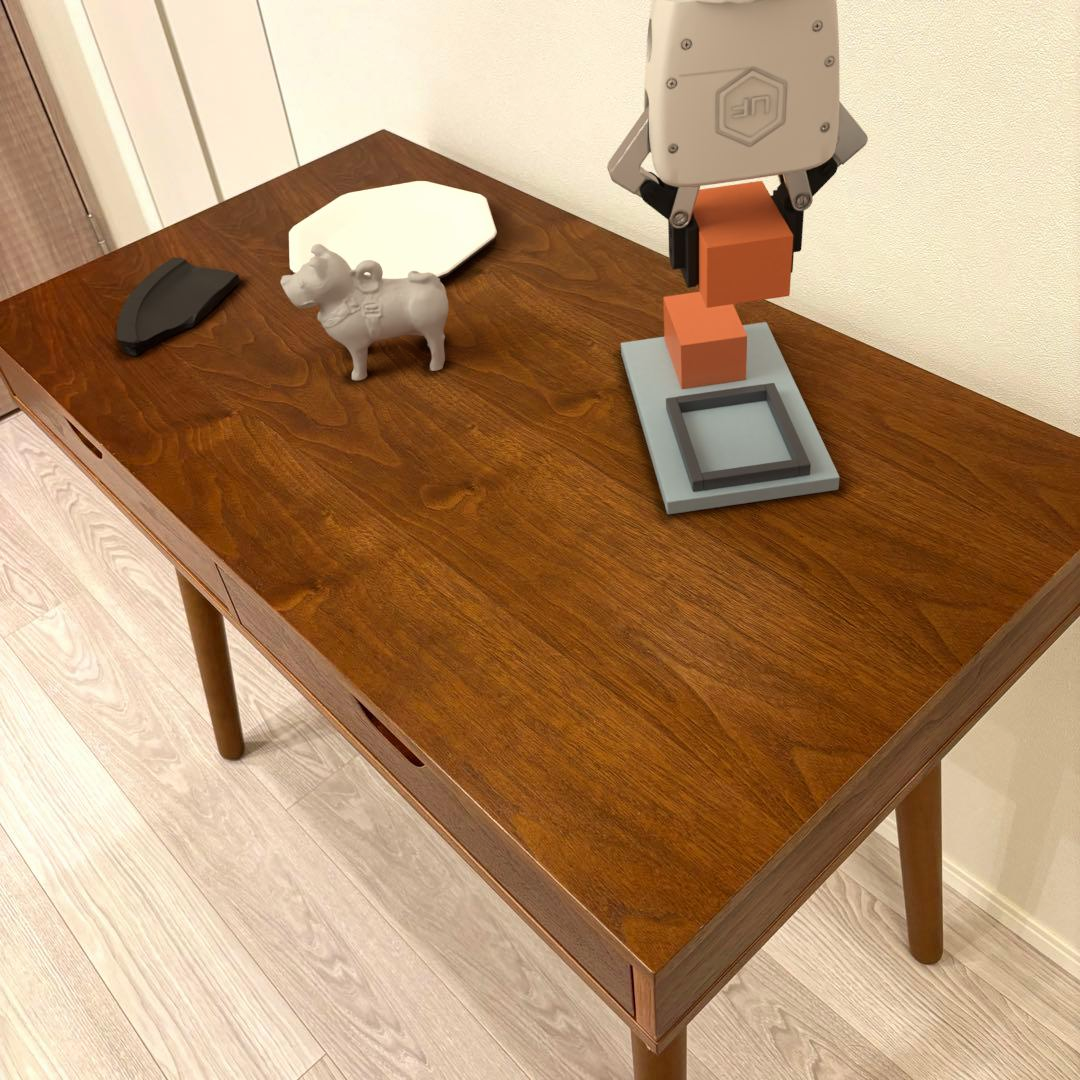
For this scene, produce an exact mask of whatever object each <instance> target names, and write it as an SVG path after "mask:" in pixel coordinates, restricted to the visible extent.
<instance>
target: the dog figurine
mask: <svg viewBox="0 0 1080 1080" xmlns="http://www.w3.org/2000/svg"><path fill="white" fill-rule="evenodd" d="M311 253H313V254H314V255H315V256H314V257H312V258H310V261H309V262H308V263H306V264H304V265H302V267H301V269H300V270H299V271H298V272H297V273H295V274H294V273H293V274H286V275H282V276H281V279H280V285H281V288H282V289H283V291H284V293H285V295H286V296H287V298H288V299H289V300H290V302H291V303H292V304H293V305H294V306H295V307H296V308H298V309H300V310H307V309H310V308H313V307H315V306H318V307H319V311H318V312H317V322H319V323H320V324H321V326H322V327H323V329H324V330H325V332H326V333H327V334H328V335H329V337H331V338H332V339H334V340H335V341H336V342H338V343H340V344H341V345H342V346H344V347H345V348H346V349H347V350H348V351H349V353H350V356H351V358H352V362H353V363H352V364H353V369H352V372H351V380H352V381H362V380H365V379H366V378H367V377H368V372H367V371H368V370H367V367H368V365H367V364H368V355H369V354H368V349H369V347H370V346H371V345H372V344H373V343H376V342H378V341H384V340H389V339H394V338H400V337H405V336H421V337H424V338H425V340H426V342H427V343H426V345H427V347H428V348H429V351H430V355H431V360H430V362H429V370H430V371H432V372H436V371H440V370H442V369H443V368H444V365H445V361H446V354H445V338H446V335H445V331H444V329H445V326H446V323H447V320H448V319H447V318H448V314H449V300H448V297H447V296H448V295H447V290H446V288H445V285H444V284H443V283H442V281H441V278H440V279H439V278H438V277H437V276H436V275H435V274H433V273H430V272H427V273H419V272H418V271H410V272H409V273H408V277H407V278H399V279H387V278H382V275H383V271H382V267H381V266H380V264H379V263H377V262H376V261H373V260H364V261H362V262H360V263H359V264H358V265H357V266H356V269H354V270H352V269H351V268H350V266H349V265H348V263H347V262H346V261H345V260H344V259H343V258H342V257H341V256H339V255H338V254H336V253H334V252H332V251H330V250H328V249H327V248H325V247H324V246H322V245H321V244H316V245H314V246H312V249H311ZM366 272H368V273H370V274H371V275H369V274H366V275H365V274H364V273H366Z"/></svg>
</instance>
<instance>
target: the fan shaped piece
mask: <svg viewBox="0 0 1080 1080" xmlns="http://www.w3.org/2000/svg"><path fill="white" fill-rule="evenodd" d="M240 281H241V279H240V277H239V274H238V273H237V272H235V271H234V272H233V271H230V270H224V269H220V268H211V267H202V266H195V265H193V264H191V262H189V261H188V260H187V259H186V258H184V257H171V258H170V259H168V260H167V261H165V262H163V264H162V263H161V265H159V266H158V267H156V268H155V269H154V270H153V271H152V272H150V273H149V274H148V275H146V276H145V278H143V280H141V281H140V282H139V283H138V284H137V286H135V288H133V290H132V291H131V292H130V294H129V296H128V297H127V298H126V300H125V301H124V303H123V305H122V308H121V310H120V313H119V315H118V319H117V321H116V322H117V323H116V340H117V341H118V343H119V344H120V346H121V349H122V352H123V353H125V354H126V355H129V356H132V357H138V356H139V355H141V354H142V353H144V352H145V351H147V350H149V349H151V348H152V347H154V346H156V344H159V343H160V342H162V341H164V340H166V339H168V338H170V337H173V336H175V335H177V334H179V333H181V332H184V331H186V330H189V329H191V328H193V327H195V326H196V325H197V324H198V323H200V322H201V321H202V320H203V319H204V318H205V317H206V316H207V315H208V314H209V313H210V312H211V311H212V310H214V309H215V307H216V306H217V305H218V304H219V303H221V302H222V300H223V299H224V298H225V297H226V296H227V295H228V294H229V293H230V292H231V291H232V290H233V289H234V288H235V287H236V286H237V285H239V284H240V283H241V282H240Z"/></svg>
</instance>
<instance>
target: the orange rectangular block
mask: <svg viewBox="0 0 1080 1080" xmlns="http://www.w3.org/2000/svg"><path fill="white" fill-rule="evenodd" d="M693 213H694V217H695V220H696V222H697V224H698V226H699V284H697V286H696V287H697V289H698V292H700V293H701V296H702V298H703V301H704V303H705V306H706V308H710V307H716V306H723V305H730V304H733V305H737V304H743V303H750V302H757V301H764V300H771V299H772V300H773V299H778V298H784V297H789V296H790V295H791V279H792V278H791V277H792V276H791V275H792V273H791V264H792V247H793V234H792V232H791V230H790V229H789V227H788V225H787V223H786V222H785V220H784V218H783V217H782V215H781V213H780V212H779V210H778V208H777V206H776V205H775V203H774V201H773V199H772V198H771V194H770V192H769V190H768V188H767V187H766V185H765V183H764V182H763V180H756V181H750V182H743V183H735V184H729V185H722V186H716V187H707V188H702V189H701V188H700V189H699V192H698V196H697V199H696V203H695V206H694V209H693Z"/></svg>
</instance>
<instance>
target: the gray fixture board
mask: <svg viewBox="0 0 1080 1080" xmlns="http://www.w3.org/2000/svg"><path fill="white" fill-rule="evenodd" d="M662 298H663V299H662V300H663V336H659V337H658V336H657V337H652V338H646V339H639V340H631V341H624V342H621V343H620V353H621V355H620V356H621V358H622V362H623V365H624V368H625V372H626V376H627V379H628V383H629V386H630V389H631V393H632V396H633V400H634V404H635V407H636V410H637V414H638V416H639V421H640V424H641V427H642V431H643V435H644V438H645V442H646V445H647V448H648V452H649V455H650V459H651V463H652V466H653V469H654V472H655V476H656V479H657V483H658V487H659V490H660V495H661V497H662V500H663V504H664V507H665V511H666V514H667V515H675V514H682V513H688V512H695V511H703V510H710V509H715V508H722V507H729V506H735V505H743V504H749V503H756V502H757V503H758V502H763V501H771V500H777V499H786V498H791V497H798V496H804V495H806V496H807V495H811V494H813V495H814V494H819V493H825V492H833V491H838V490H839V489H840V488H839V487H840V480H841V479H840V478H841V477H840V474H839V473H838V470H837V467H836V466H835V463H834V462H833V460H832V457H831V456H830V453H829V451H828V449H827V447H826V445H825V443H824V441H823V439H822V436H821V434H820V432H819V430H818V429H817V426H816V424H815V422H814V420H813V417H812V415H811V414H810V413H811V412H810V411H809V409H808V407H807V405H806V403H805V401H804V398H803V397H802V394H801V392H800V390H799V388H798V386H797V384H796V382H795V379H794V377H793V375H792V373H791V371H790V369H789V367H788V365H787V363H786V361H785V359H784V355H783V354H782V352H781V350H780V348H779V345H778V343H777V341H776V340H775V337H774V334H773V333H772V330H771V329H770V327H769V325H768V322H766V321H763V322H757V323H750V324H743V323H742V321H741V318H740V317H739V313H738V312H737V310H736V307H735V304H730V305H723V306H716V307H710V308H706V306H705V303H704V301H703V298H702V296H701V293H700V291H694V292H689V293H680V294H674V295H673V294H672V295H667V296H663V297H662Z"/></svg>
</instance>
